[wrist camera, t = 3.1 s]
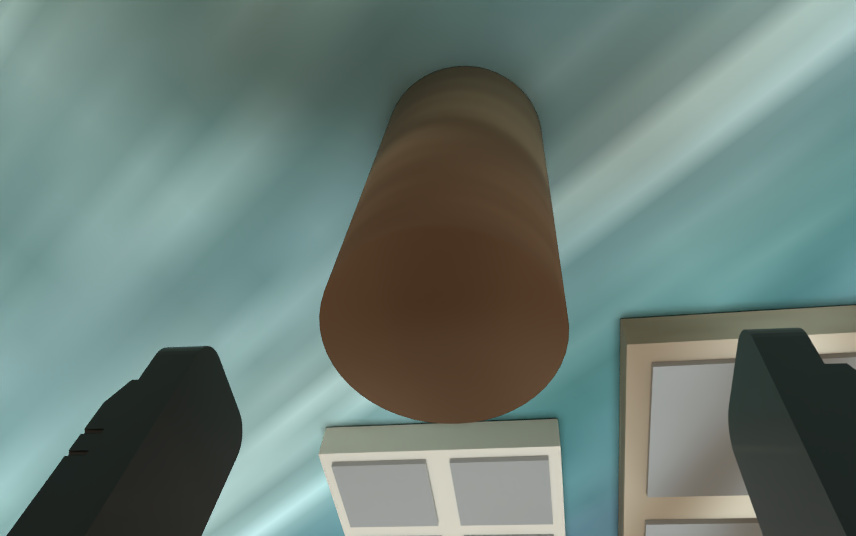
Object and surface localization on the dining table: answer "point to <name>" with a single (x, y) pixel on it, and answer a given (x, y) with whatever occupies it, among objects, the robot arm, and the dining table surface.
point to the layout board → (696, 416)
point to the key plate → (447, 478)
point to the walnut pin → (451, 258)
